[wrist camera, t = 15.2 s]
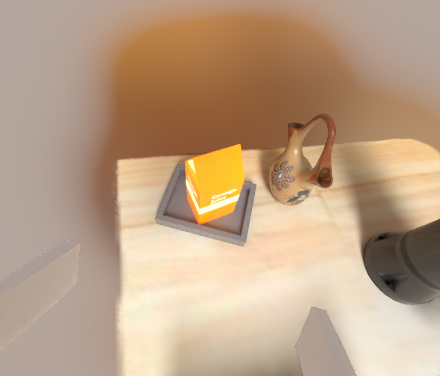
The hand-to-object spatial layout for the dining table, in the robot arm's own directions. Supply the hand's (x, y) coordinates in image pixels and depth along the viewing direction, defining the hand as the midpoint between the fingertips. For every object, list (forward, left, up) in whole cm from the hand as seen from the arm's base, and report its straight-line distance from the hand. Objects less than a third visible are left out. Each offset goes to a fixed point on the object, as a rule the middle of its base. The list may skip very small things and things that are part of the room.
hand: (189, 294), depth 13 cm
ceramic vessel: (-14, -31, -36) cm, 50 cm away
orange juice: (+3, -22, -35) cm, 42 cm away
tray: (+3, -22, -36) cm, 42 cm away
